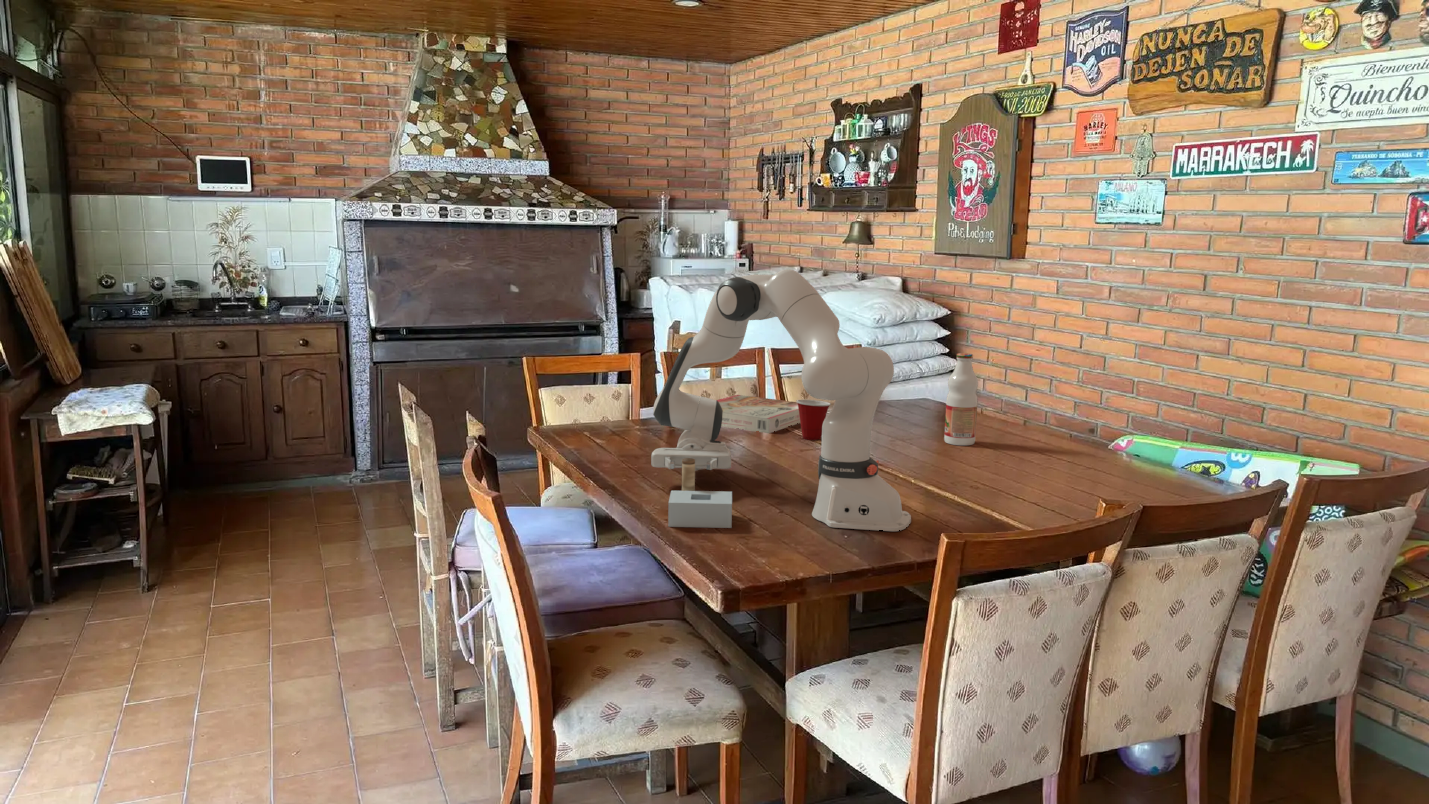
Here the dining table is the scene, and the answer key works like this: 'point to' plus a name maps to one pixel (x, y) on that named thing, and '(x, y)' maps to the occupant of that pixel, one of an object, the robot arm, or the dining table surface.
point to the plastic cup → (812, 417)
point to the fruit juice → (961, 403)
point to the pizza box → (758, 413)
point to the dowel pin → (688, 474)
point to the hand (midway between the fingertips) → (690, 466)
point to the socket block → (700, 509)
